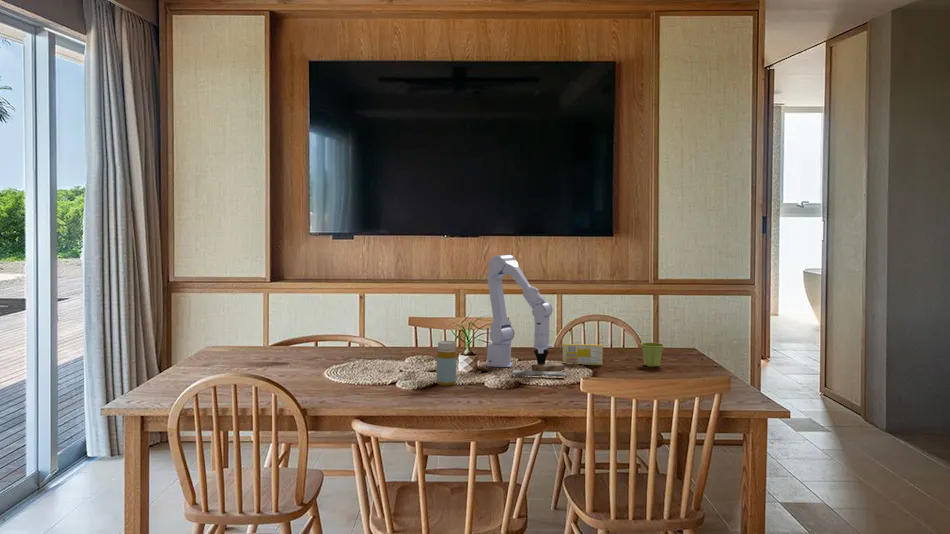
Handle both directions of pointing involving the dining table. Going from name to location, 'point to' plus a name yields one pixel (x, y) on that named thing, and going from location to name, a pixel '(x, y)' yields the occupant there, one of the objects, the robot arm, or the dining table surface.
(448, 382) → the bottle
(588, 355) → the candy box
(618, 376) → the dining table surface
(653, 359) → the plant pot
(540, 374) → the floor strip
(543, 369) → the plank
